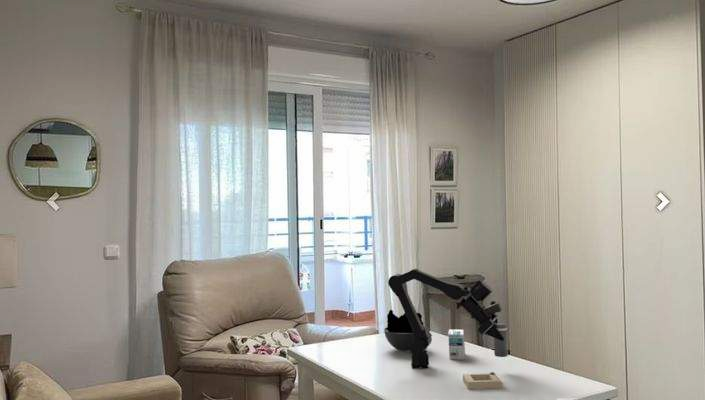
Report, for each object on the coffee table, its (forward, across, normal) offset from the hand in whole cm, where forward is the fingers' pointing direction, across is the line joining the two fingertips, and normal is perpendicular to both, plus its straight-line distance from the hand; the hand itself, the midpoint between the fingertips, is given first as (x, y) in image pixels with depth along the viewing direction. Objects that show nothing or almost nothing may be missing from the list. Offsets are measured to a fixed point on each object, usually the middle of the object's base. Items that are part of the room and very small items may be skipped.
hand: (504, 338), depth 217 cm
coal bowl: (-23, +24, +42) cm, 53 cm away
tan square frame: (+4, -17, +14) cm, 23 cm away
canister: (+4, 0, +6) cm, 7 cm away
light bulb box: (-6, +19, +25) cm, 32 cm away
